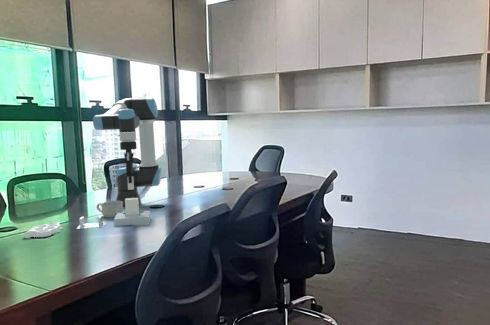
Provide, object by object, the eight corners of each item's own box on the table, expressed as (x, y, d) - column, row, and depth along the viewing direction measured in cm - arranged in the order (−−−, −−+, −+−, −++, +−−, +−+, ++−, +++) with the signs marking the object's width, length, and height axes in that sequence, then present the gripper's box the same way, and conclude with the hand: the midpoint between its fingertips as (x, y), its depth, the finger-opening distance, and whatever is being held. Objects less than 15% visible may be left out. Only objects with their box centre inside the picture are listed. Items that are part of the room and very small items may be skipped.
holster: (80, 225, 194) (80, 215, 193) (106, 223, 196) (105, 213, 195) (76, 230, 184) (75, 220, 183) (103, 228, 186) (102, 218, 186)
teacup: (127, 215, 212) (126, 200, 212) (114, 220, 202) (113, 204, 201) (106, 214, 217) (105, 200, 216) (92, 219, 207) (91, 204, 206)
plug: (127, 222, 197) (125, 198, 196) (139, 221, 198) (138, 197, 197) (126, 224, 193) (124, 199, 192) (139, 223, 194) (137, 199, 193)
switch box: (118, 220, 201) (117, 212, 200) (150, 218, 204) (149, 210, 203) (114, 227, 187) (113, 218, 187) (149, 224, 190) (148, 215, 190)
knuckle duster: (35, 230, 188) (67, 228, 190) (20, 241, 170) (56, 238, 173) (34, 223, 188) (67, 221, 190) (19, 233, 170) (56, 231, 172)
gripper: (121, 141, 197) (124, 188, 199) (118, 141, 185) (121, 192, 187) (137, 140, 199) (139, 187, 201) (135, 141, 186) (138, 190, 188)
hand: (131, 189), depth 194 cm, fingers closed
